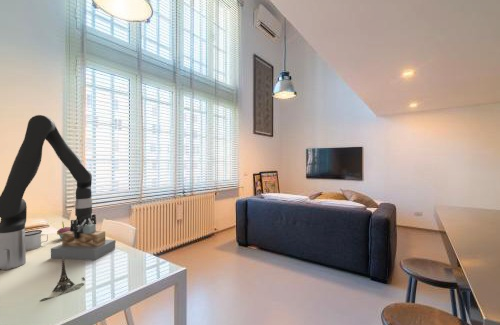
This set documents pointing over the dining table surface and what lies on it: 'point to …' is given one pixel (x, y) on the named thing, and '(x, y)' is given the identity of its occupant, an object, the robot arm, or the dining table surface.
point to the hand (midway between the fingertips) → (83, 235)
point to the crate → (89, 228)
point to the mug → (33, 239)
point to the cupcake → (63, 230)
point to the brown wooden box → (84, 239)
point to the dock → (82, 251)
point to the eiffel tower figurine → (65, 283)
